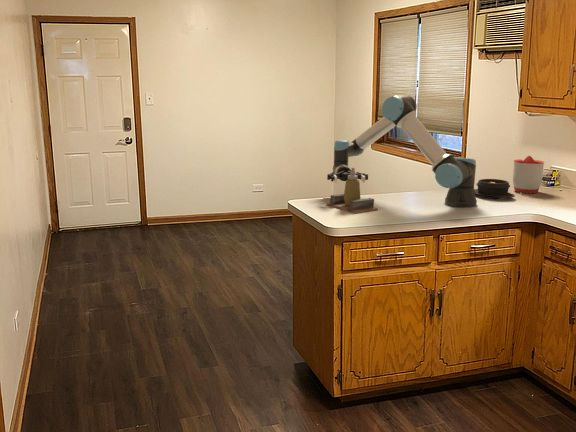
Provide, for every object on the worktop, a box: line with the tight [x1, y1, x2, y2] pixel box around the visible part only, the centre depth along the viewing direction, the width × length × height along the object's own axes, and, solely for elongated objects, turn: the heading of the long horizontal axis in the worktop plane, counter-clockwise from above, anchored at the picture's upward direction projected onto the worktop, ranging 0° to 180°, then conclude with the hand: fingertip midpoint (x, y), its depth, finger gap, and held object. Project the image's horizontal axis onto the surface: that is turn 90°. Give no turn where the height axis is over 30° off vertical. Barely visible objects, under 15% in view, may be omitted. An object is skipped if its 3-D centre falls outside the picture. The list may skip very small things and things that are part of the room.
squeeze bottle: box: [343, 167, 361, 206], centre depth 298 cm, size 8×8×18 cm
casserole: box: [474, 178, 516, 200], centre depth 329 cm, size 25×19×8 cm
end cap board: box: [325, 193, 379, 214], centre depth 300 cm, size 22×14×5 cm, turn 33°
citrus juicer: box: [512, 155, 545, 194], centre depth 343 cm, size 16×17×20 cm
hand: (350, 179), depth 302 cm, fingers open, 13 cm apart
